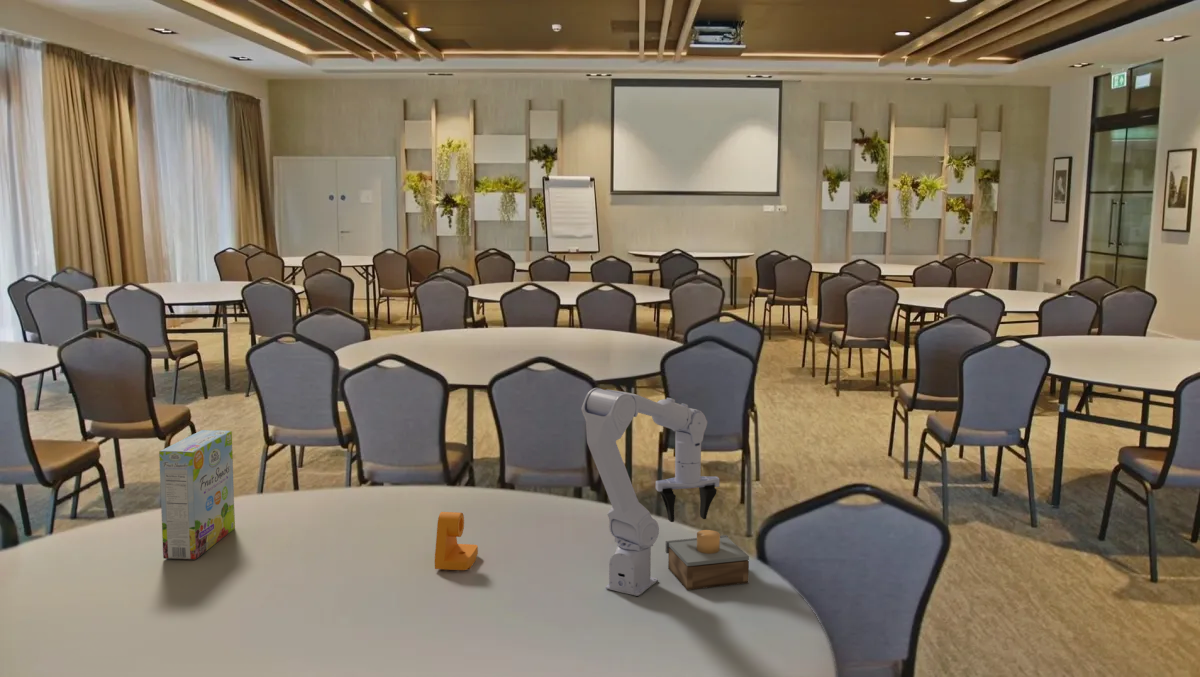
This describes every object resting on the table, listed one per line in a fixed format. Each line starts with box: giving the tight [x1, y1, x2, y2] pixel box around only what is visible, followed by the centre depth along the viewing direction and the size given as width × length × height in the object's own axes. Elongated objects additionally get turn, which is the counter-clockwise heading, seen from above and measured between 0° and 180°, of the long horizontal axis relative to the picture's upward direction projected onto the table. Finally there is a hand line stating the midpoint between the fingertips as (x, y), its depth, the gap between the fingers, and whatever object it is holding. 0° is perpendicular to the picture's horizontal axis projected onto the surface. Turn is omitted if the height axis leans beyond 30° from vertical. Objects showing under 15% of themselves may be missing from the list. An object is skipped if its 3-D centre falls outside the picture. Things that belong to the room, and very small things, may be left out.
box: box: [667, 547, 750, 591], centre depth 200 cm, size 12×14×5 cm
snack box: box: [158, 429, 236, 561], centre depth 218 cm, size 22×9×26 cm, turn 179°
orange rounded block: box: [696, 529, 721, 554], centre depth 200 cm, size 5×5×4 cm
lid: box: [665, 534, 750, 566], centre depth 201 cm, size 13×15×3 cm
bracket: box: [434, 511, 479, 571], centre depth 207 cm, size 11×7×12 cm, turn 173°
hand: (687, 519), depth 206 cm, fingers open, 7 cm apart
